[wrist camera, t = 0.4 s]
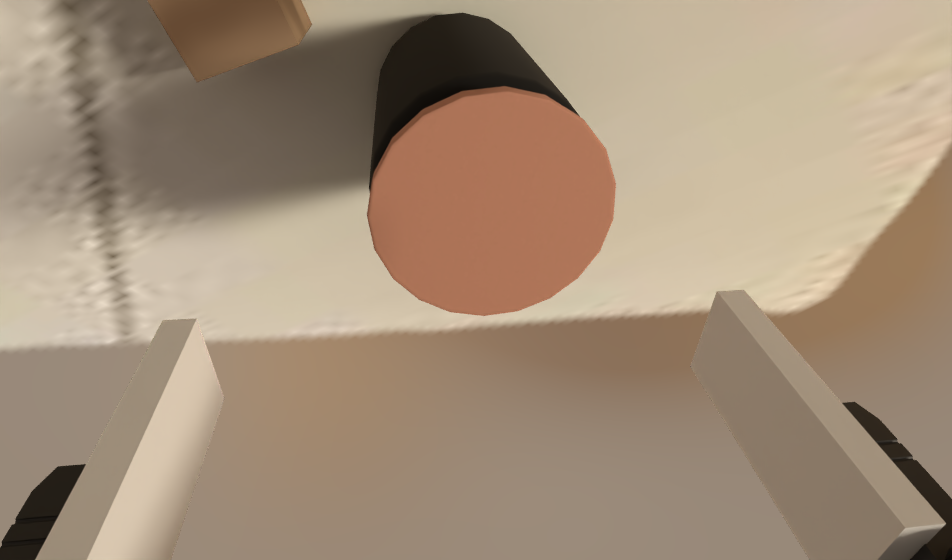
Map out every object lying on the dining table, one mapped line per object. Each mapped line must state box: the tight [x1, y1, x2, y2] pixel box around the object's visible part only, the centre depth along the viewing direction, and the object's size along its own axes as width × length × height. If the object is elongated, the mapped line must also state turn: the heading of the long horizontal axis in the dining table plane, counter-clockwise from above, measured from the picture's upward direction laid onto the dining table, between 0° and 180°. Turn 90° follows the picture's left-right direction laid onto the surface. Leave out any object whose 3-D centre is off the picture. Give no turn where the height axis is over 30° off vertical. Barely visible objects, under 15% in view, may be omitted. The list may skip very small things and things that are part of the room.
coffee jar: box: [367, 13, 616, 316], centre depth 31 cm, size 11×11×18 cm
